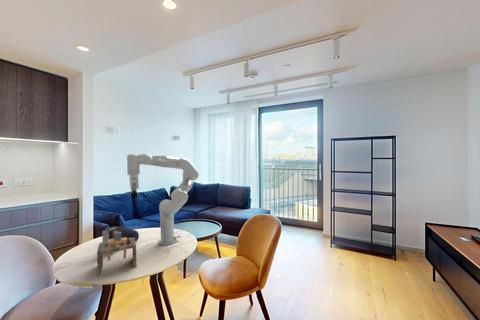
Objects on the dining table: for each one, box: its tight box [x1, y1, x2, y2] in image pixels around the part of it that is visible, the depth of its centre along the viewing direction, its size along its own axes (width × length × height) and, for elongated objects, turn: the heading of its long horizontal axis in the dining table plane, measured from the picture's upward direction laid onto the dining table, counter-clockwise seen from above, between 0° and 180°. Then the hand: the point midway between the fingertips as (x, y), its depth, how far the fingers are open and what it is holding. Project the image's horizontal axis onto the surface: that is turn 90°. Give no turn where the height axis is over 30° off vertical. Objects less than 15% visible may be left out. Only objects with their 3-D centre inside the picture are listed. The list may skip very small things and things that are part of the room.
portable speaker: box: [118, 226, 140, 245], centre depth 166 cm, size 25×10×10 cm, turn 60°
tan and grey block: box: [107, 232, 128, 262], centre depth 129 cm, size 9×4×15 cm, turn 118°
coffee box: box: [101, 226, 120, 256], centre depth 147 cm, size 9×6×16 cm
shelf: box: [96, 237, 137, 277], centre depth 129 cm, size 19×14×14 cm
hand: (134, 197), depth 150 cm, fingers open, 9 cm apart
